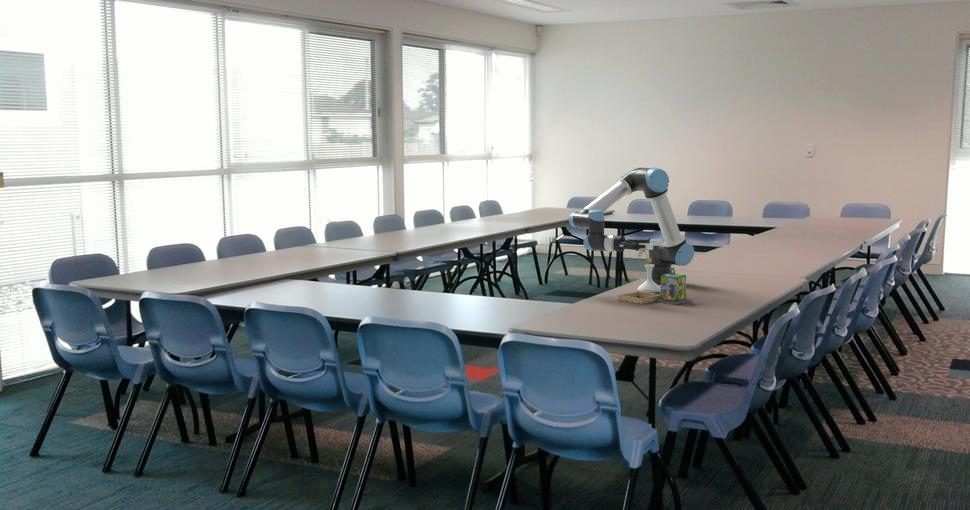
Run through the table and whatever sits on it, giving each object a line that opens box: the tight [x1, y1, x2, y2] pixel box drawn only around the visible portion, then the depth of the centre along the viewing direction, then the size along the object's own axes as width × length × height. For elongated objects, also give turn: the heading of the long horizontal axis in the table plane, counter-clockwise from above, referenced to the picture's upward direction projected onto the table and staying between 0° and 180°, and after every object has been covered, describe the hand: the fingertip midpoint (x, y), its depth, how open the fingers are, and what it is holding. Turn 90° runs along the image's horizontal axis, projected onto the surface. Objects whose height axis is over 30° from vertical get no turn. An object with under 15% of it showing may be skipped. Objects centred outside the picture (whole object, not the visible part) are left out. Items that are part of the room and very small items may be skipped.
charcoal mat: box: [655, 298, 692, 305], centre depth 427 cm, size 12×12×1 cm
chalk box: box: [660, 266, 687, 301], centre depth 426 cm, size 9×9×15 cm
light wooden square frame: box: [616, 290, 661, 305], centre depth 432 cm, size 15×15×2 cm
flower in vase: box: [637, 249, 661, 294], centre depth 450 cm, size 13×11×25 cm
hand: (658, 244), depth 427 cm, fingers open, 13 cm apart
